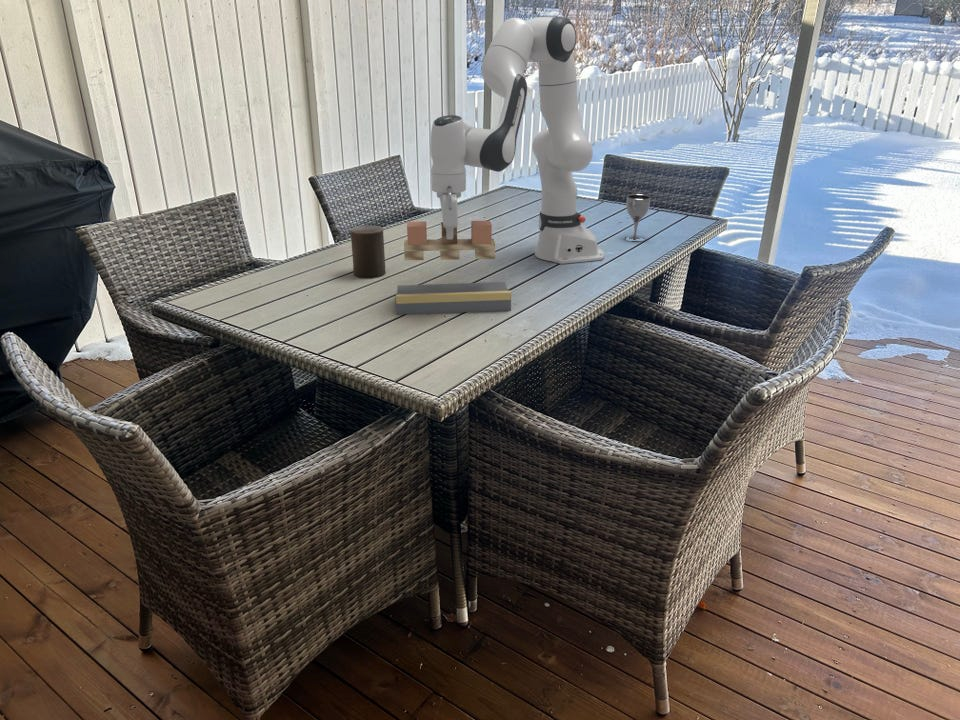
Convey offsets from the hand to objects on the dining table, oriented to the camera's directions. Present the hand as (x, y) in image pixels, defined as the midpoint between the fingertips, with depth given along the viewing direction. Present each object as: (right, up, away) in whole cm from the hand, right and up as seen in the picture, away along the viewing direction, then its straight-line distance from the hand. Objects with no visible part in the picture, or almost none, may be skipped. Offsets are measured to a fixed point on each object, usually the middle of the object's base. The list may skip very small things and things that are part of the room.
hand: (449, 236), depth 179 cm
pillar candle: (-25, -6, +27) cm, 38 cm away
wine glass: (+63, +10, +59) cm, 87 cm away
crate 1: (-8, -2, 0) cm, 9 cm away
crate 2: (+8, -1, +1) cm, 9 cm away
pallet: (0, -5, +3) cm, 6 cm away
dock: (+1, -17, +5) cm, 18 cm away
